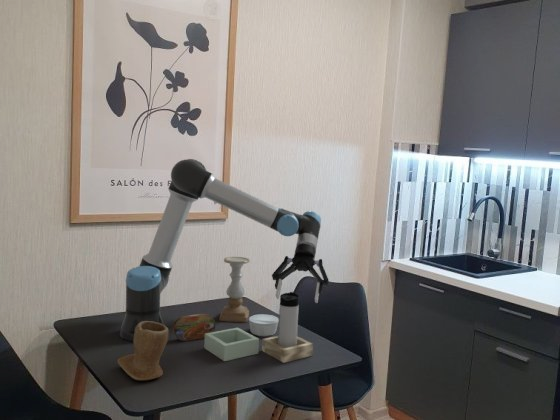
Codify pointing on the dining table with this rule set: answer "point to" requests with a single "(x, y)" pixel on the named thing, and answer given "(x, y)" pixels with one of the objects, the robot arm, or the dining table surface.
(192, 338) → the tin
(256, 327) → the ramekin
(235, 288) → the candle holder
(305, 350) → the brown square tray
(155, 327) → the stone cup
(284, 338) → the travel mug
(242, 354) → the mint green square tray
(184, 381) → the dining table surface
